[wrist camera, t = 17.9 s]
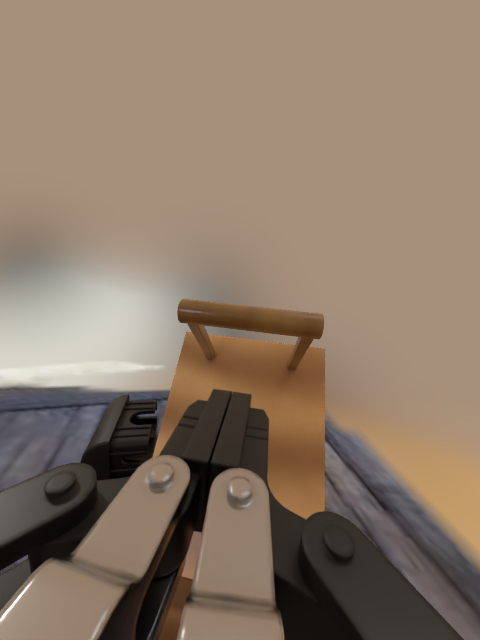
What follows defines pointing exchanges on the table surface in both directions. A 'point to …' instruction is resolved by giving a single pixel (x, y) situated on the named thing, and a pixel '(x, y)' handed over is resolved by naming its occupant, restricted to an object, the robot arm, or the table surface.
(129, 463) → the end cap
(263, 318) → the box lid
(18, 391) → the table surface
